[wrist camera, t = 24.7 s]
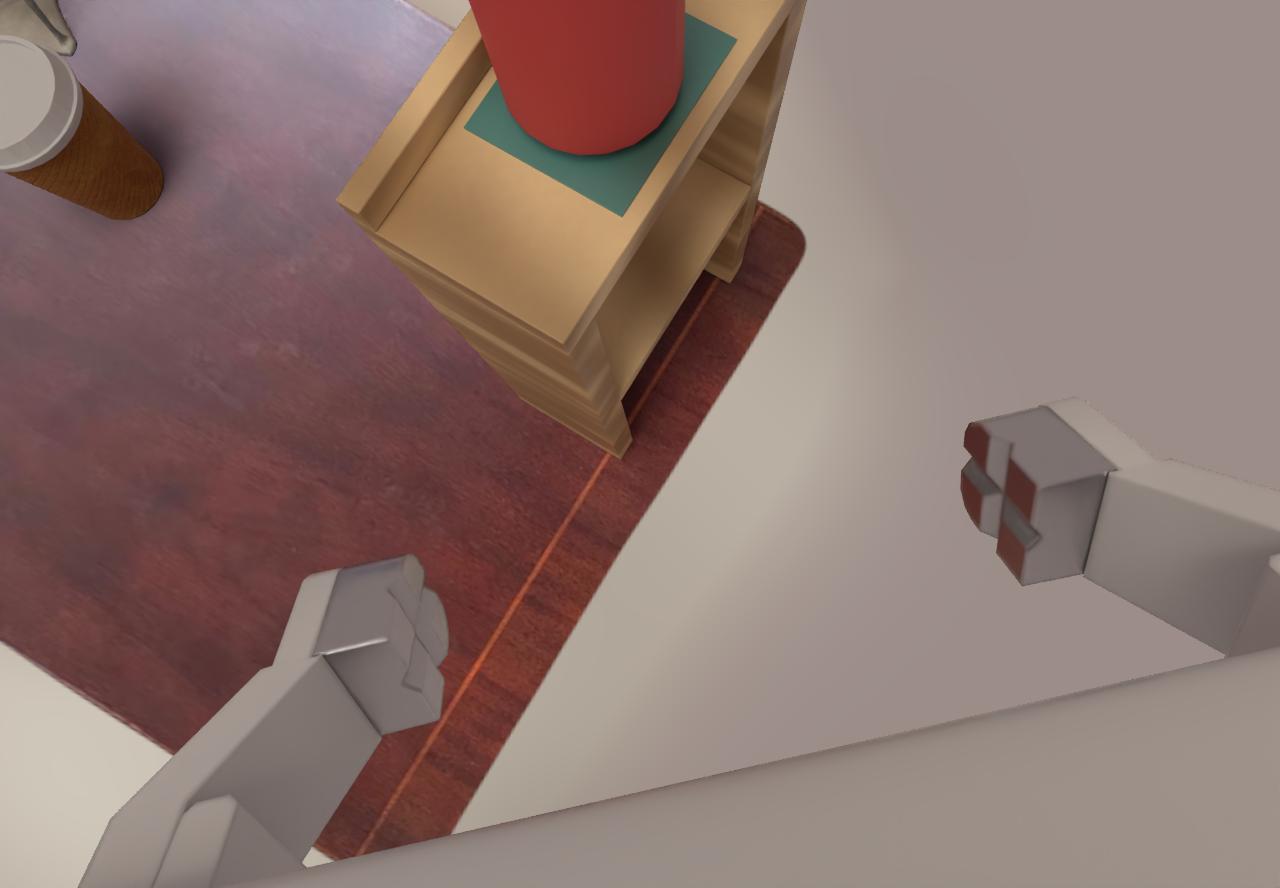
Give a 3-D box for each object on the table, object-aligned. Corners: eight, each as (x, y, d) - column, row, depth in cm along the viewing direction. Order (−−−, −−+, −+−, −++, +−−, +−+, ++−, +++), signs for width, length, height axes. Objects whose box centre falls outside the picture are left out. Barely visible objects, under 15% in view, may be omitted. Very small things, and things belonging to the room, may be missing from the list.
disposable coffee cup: (143, 257, 59) (9, 181, 47) (48, 209, 60) (-105, 124, 48) (204, 159, 60) (89, 61, 48) (110, 114, 61) (-25, 7, 49)
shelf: (620, 460, 54) (556, 331, 23) (521, 399, 56) (333, 199, 24) (741, 265, 56) (830, -92, 25) (643, 211, 57) (614, -197, 26)
